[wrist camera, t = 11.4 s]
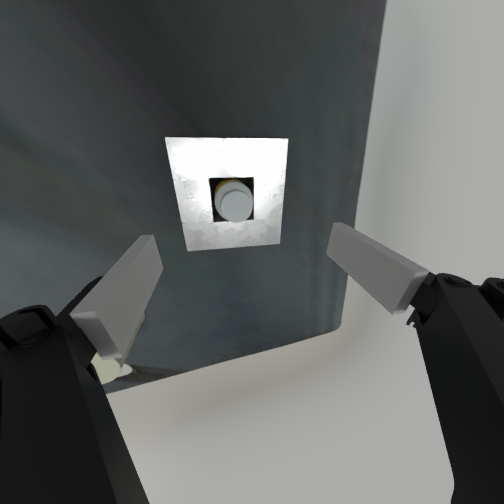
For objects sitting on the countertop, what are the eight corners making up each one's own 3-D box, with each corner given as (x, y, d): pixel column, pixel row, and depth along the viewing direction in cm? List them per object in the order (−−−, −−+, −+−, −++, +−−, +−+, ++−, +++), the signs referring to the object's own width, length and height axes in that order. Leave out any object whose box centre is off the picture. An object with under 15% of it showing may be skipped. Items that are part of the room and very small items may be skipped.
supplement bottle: (215, 209, 31) (215, 228, 23) (213, 176, 29) (212, 184, 20) (246, 208, 32) (256, 227, 24) (246, 176, 29) (258, 185, 21)
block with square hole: (171, 139, 25) (164, 137, 22) (279, 140, 28) (288, 138, 24) (190, 241, 33) (187, 251, 30) (273, 235, 35) (279, 243, 32)
